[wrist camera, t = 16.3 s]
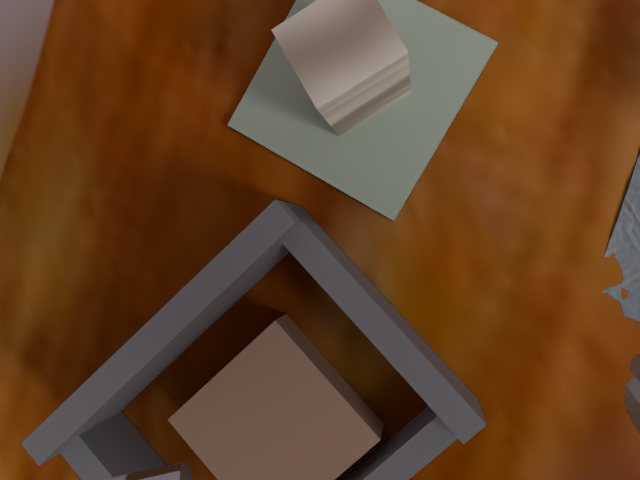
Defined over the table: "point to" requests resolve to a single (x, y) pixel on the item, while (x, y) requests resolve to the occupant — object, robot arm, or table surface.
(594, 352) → the table surface
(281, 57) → the mat
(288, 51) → the block
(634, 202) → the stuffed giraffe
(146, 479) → the robot arm
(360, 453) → the nook
